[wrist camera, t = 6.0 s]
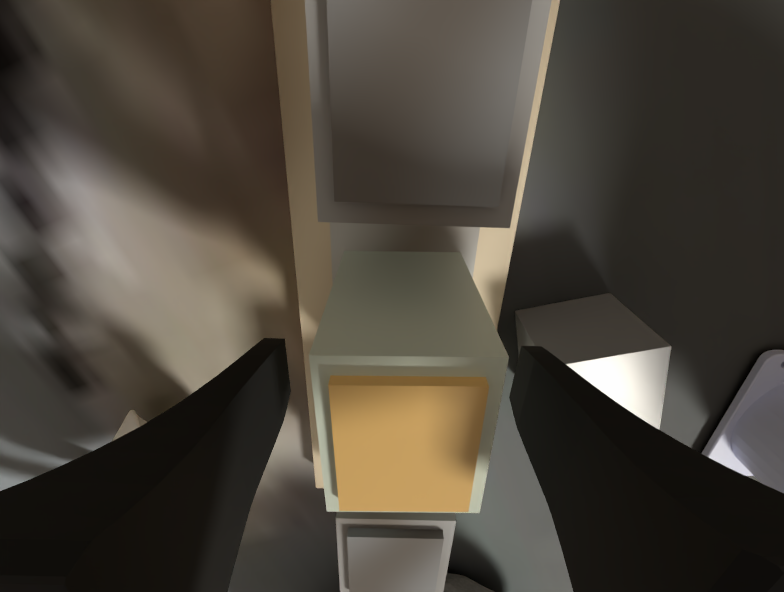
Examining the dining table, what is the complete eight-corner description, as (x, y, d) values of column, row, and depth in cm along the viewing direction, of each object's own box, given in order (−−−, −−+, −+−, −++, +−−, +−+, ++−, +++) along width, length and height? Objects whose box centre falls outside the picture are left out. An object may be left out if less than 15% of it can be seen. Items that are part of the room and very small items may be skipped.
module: (460, 252, 13) (513, 366, 7) (448, 368, 15) (482, 524, 9) (344, 250, 13) (305, 364, 7) (350, 367, 15) (324, 523, 9)
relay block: (608, 292, 16) (671, 346, 12) (605, 365, 18) (659, 431, 14) (514, 309, 16) (548, 367, 13) (520, 379, 18) (551, 447, 14)
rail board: (552, -35, 11) (755, -216, 5) (462, 471, 21) (490, 621, 15) (277, -47, 11) (126, -245, 5) (319, 468, 21) (289, 617, 15)
